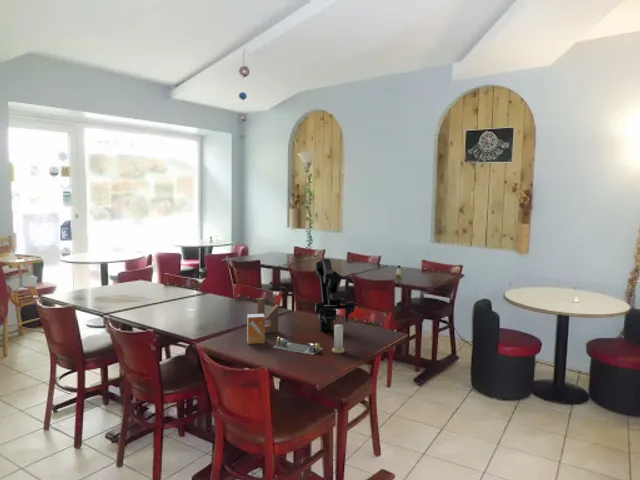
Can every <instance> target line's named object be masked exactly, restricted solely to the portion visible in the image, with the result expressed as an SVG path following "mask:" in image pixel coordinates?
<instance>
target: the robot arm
mask: <svg viewBox="0 0 640 480" xmlns="http://www.w3.org/2000/svg"><path fill="white" fill-rule="evenodd" d="M314 270H315V272H316V276H317V277H318V278H319V282H320V290H321V293H320V294H321V300H322V301H321V302H316V303H315V304H314V305H315V307H314V313H315V314H317V315H318V317H317V319H318V320H319V324H318V330H319V331H320V332H322V333H331V332H334V321H335V320H336V319H337V310H344V311H345V313H344V318H345V319H344V320H345V323H346V324H347V323H348V319H349V315H352V313H354V311H355V309H356V303H355V302H354V301H346V302H345V304H342V300H344V299H346V292H345V291H341V292H340V290H339V288H340V286H341V282H342V276H341V275H340V274H339V273H338V272H337V271H336V270H334V269H333V267H332V262H331V259H330V258H322V259H320V260H319V261H317V262H316V263H315V266H314Z"/></svg>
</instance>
